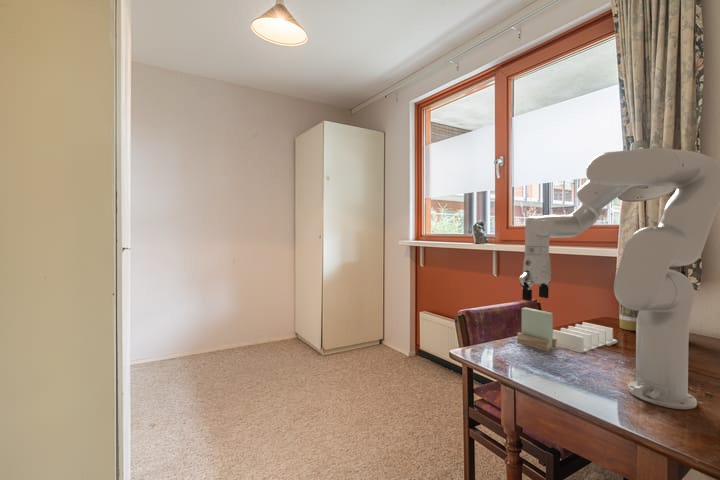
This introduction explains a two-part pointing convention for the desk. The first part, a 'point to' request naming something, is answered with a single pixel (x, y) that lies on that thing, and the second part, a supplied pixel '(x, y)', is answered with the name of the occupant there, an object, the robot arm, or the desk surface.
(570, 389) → the desk surface
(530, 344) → the plate stand
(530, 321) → the plate
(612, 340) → the dish rack
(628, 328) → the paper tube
